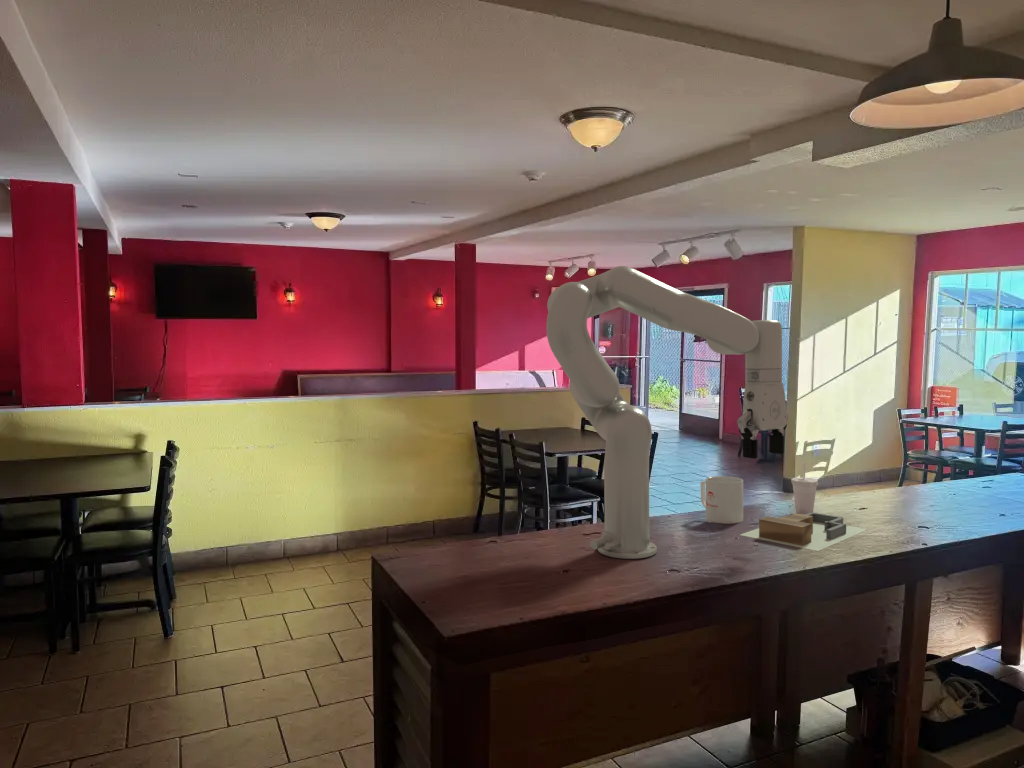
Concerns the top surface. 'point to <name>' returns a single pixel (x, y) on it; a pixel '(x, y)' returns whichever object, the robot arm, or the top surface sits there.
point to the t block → (787, 528)
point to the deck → (819, 532)
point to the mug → (723, 499)
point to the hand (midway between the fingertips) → (763, 455)
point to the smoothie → (804, 493)
